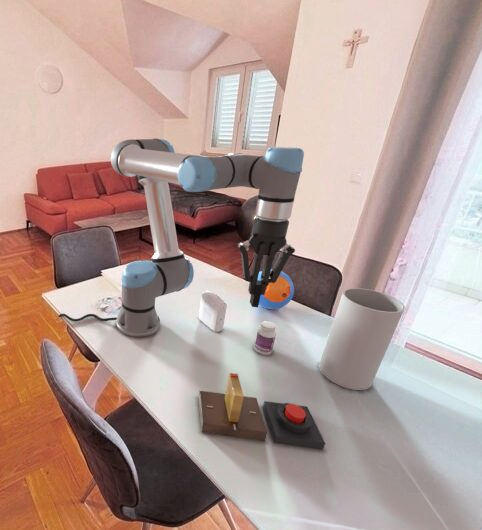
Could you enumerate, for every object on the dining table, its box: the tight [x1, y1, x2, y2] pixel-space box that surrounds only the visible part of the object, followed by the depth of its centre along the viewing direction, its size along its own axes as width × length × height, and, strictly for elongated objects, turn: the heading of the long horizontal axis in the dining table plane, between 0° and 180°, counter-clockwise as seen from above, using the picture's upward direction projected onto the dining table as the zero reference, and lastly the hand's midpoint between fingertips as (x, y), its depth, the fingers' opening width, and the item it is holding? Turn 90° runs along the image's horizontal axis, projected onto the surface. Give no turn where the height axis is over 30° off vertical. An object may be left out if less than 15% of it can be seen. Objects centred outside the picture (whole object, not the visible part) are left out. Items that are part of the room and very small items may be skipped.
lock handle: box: [224, 372, 245, 422], centre depth 74 cm, size 7×2×8 cm, turn 170°
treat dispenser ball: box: [258, 268, 295, 310], centre depth 122 cm, size 16×15×15 cm
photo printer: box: [198, 290, 228, 333], centre depth 111 cm, size 10×4×12 cm, turn 23°
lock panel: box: [197, 390, 268, 442], centre depth 76 cm, size 14×11×3 cm
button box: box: [262, 400, 326, 451], centre depth 73 cm, size 10×10×4 cm
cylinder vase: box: [318, 287, 406, 391], centre depth 85 cm, size 12×12×25 cm
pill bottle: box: [253, 320, 277, 356], centre depth 98 cm, size 5×5×10 cm
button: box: [285, 403, 306, 424], centre depth 72 cm, size 4×4×2 cm
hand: (253, 304), depth 83 cm, fingers closed
